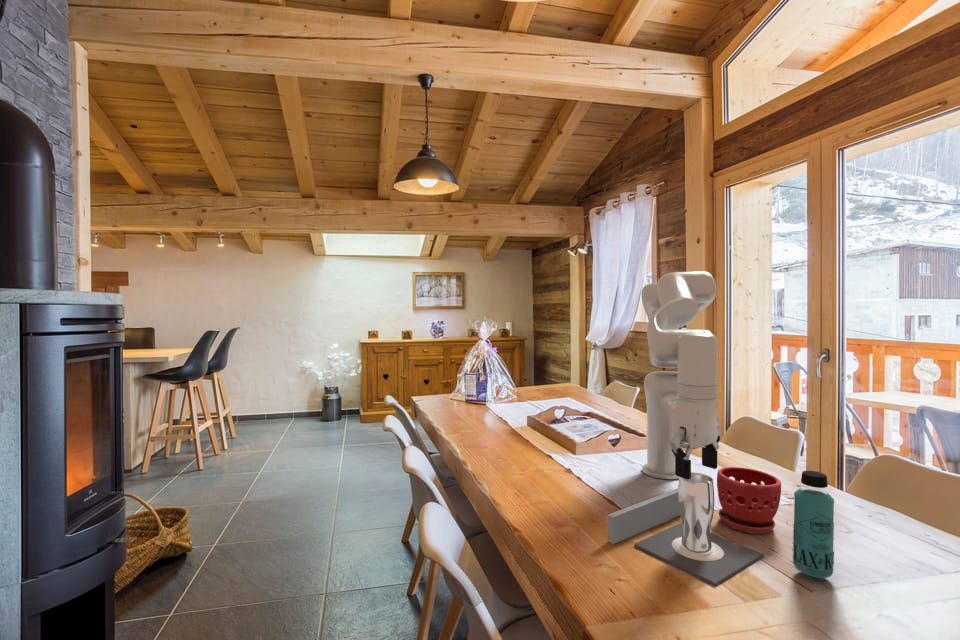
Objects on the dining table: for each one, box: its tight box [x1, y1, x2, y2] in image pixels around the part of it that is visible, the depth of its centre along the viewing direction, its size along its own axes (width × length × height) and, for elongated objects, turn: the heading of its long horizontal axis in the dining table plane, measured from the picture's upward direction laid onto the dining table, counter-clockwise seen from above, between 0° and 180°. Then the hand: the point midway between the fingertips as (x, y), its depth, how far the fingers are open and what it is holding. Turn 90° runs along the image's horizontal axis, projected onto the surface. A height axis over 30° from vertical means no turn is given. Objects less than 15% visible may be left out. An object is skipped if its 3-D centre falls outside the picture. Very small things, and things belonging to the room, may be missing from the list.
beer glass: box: [677, 471, 715, 555], centre depth 100 cm, size 7×7×15 cm
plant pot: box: [716, 466, 782, 534], centre depth 111 cm, size 13×13×12 cm
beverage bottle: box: [792, 470, 835, 579], centre depth 90 cm, size 6×7×20 cm
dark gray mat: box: [634, 522, 764, 587], centre depth 100 cm, size 18×18×1 cm
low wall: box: [607, 487, 681, 545], centre depth 112 cm, size 28×2×6 cm, turn 124°
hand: (696, 472), depth 100 cm, fingers open, 9 cm apart
